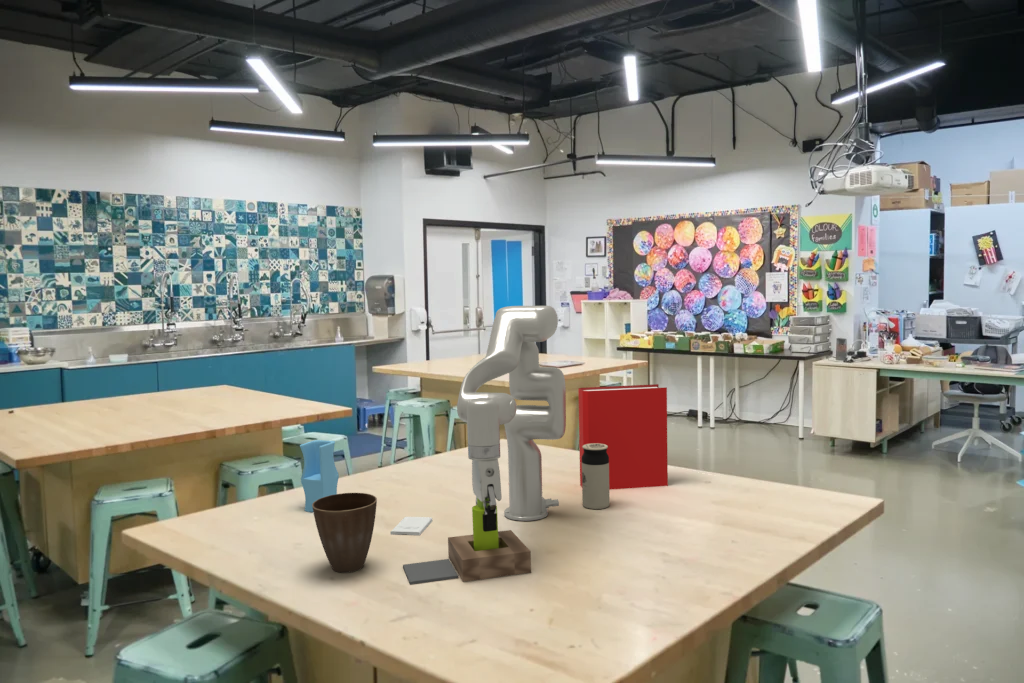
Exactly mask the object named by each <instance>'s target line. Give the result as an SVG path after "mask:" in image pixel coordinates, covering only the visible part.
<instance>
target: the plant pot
mask: <svg viewBox="0 0 1024 683" xmlns="http://www.w3.org/2000/svg"><path fill="white" fill-rule="evenodd" d="M377 501H378V499H377V497H376V496H375V495H373V494H369V493H366V492H344V493H337V494H335V495H330V496H326V497H323V498H320V499H318V500H316V501H315V502H314V503H313V504H312V507H313V512H312V513H313V516H314V521H315V526H316V529H317V533H318V536H319V539H320V542H321V545H322V549H323V550H324V553H325V557H326V558H327V560H328V563H329V565H330V567H331V569H332V571H333V572H335V573H336V572H337V573H341V574H342V573H343V574H344V573H353V572H357V571H360V570H361V569H362V568H364V567H365V562H366V560H367V556H368V554H369V551H370V546H371V543H372V537H373V533H374V528H375V521H376V516H377V515H376V514H377V513H376V512H377V503H378V502H377Z"/></svg>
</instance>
